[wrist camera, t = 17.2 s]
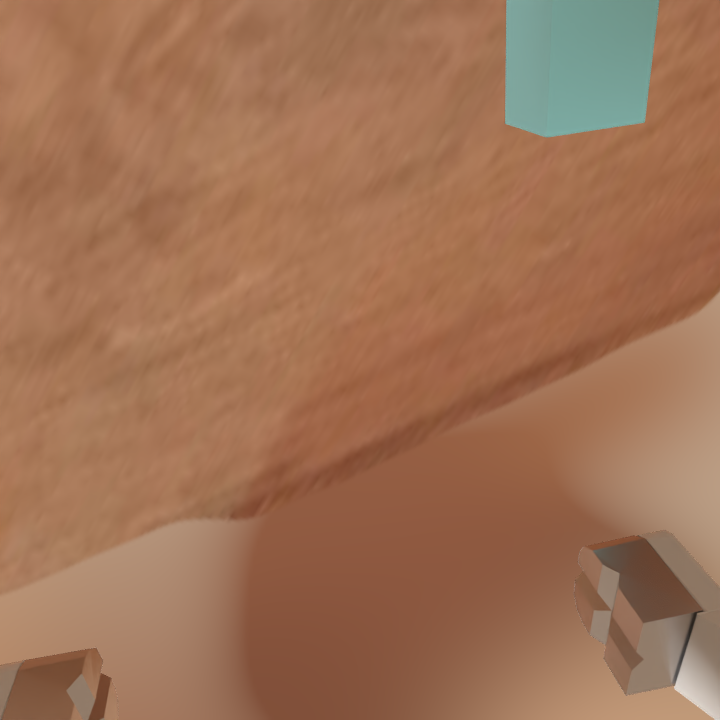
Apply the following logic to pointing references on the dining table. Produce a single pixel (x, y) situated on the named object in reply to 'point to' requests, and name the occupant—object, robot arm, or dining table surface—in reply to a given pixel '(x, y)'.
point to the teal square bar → (578, 64)
